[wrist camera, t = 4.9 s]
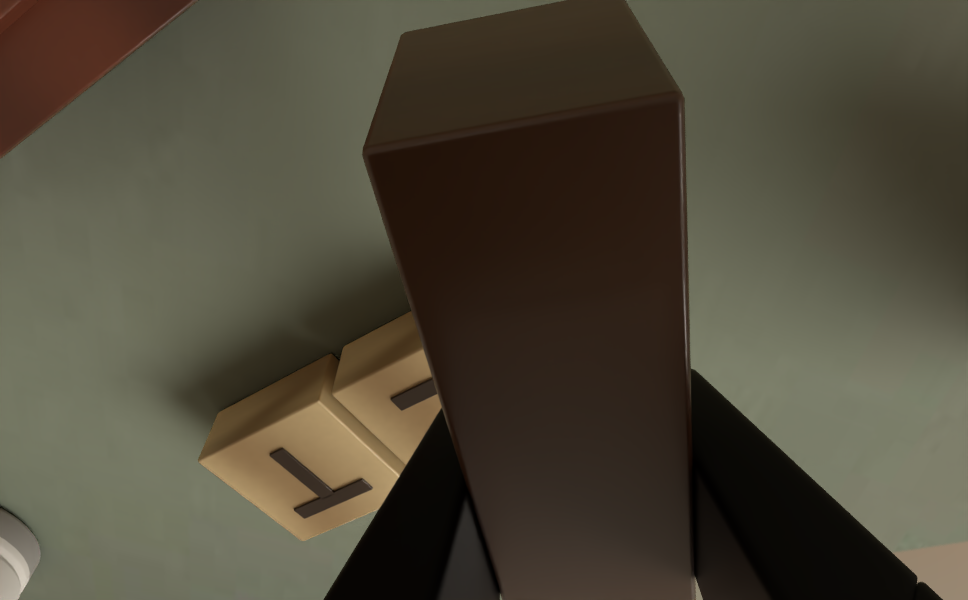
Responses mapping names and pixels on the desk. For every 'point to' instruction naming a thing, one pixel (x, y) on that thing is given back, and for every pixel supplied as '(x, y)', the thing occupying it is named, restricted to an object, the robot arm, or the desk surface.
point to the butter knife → (551, 287)
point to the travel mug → (16, 556)
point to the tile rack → (66, 53)
